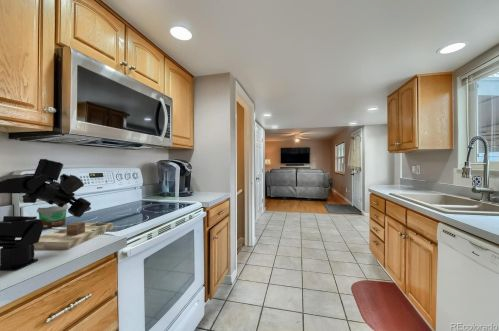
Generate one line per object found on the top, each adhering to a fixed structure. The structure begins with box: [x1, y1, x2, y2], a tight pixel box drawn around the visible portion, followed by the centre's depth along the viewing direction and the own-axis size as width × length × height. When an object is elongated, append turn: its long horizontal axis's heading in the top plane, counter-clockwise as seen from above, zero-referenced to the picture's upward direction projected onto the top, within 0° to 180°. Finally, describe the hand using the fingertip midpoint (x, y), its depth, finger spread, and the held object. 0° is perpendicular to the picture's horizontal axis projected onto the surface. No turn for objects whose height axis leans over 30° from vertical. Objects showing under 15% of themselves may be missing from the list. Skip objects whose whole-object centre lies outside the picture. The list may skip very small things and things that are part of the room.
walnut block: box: [66, 221, 86, 235], centre depth 85 cm, size 4×4×4 cm
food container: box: [36, 203, 69, 230], centre depth 102 cm, size 12×6×10 cm, turn 168°
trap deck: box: [33, 222, 114, 250], centre depth 88 cm, size 24×16×3 cm, turn 179°
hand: (82, 203), depth 87 cm, fingers open, 9 cm apart
